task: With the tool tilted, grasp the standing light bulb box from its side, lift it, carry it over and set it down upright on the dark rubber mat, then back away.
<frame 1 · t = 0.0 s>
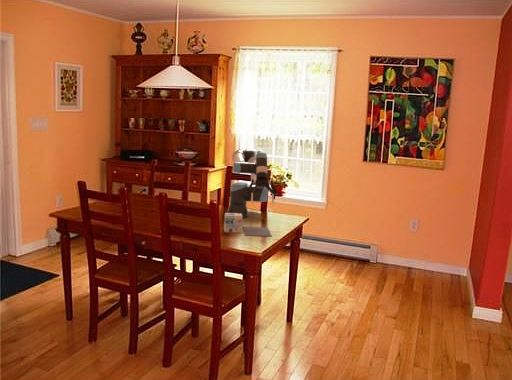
hand: (262, 203, 307), 15 cm above the table, tool tilted 35°, fingers open, 13 cm apart
mat: (256, 231, 296), on the table
light bulb box: (232, 231, 294), on the table
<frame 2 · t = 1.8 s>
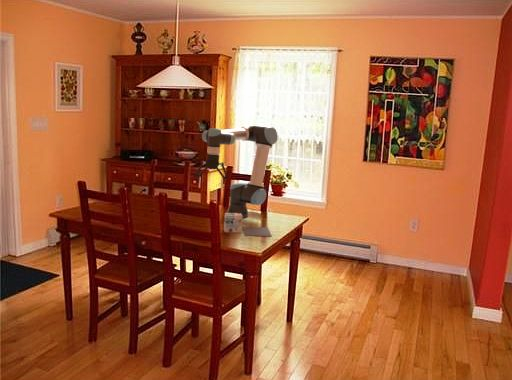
hand: (210, 188, 292), 25 cm above the table, tool pointing down, fingers open, 13 cm apart
nothing on the table moved.
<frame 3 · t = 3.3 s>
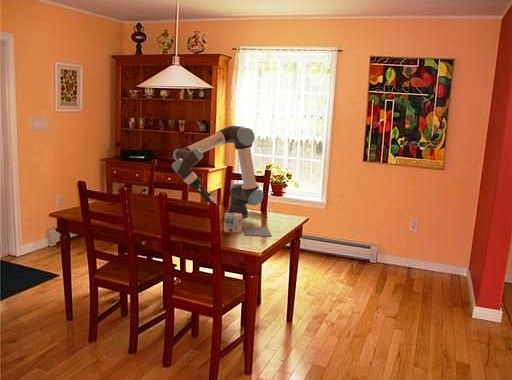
hand: (216, 206, 290), 15 cm above the table, tool tilted 45°, fingers open, 13 cm apart
nothing on the table moved.
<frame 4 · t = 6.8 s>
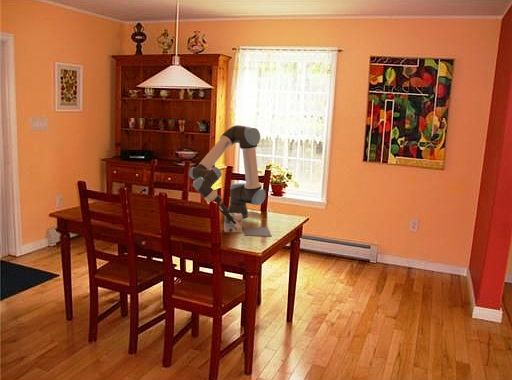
hand: (238, 225, 294), 4 cm above the table, tool tilted 45°, fingers closed on light bulb box, 7 cm apart
light bulb box: (232, 231, 294), on the table, touching gripper
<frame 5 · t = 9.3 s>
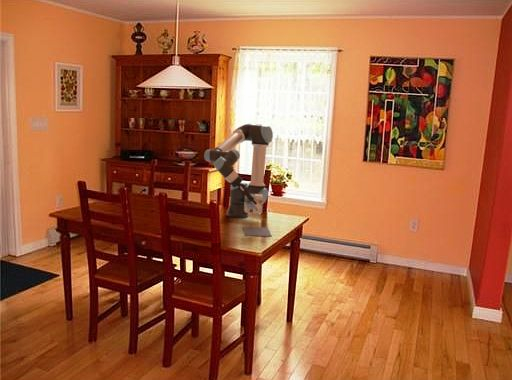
hand: (259, 206, 292), 16 cm above the table, tool tilted 45°, fingers closed on light bulb box, 7 cm apart
light bulb box: (252, 212, 293), point 12 cm above the table, touching gripper
when the fingers open (5 cm above the table, at t = 12.1 s): light bulb box drops 1 cm, resting on mat.
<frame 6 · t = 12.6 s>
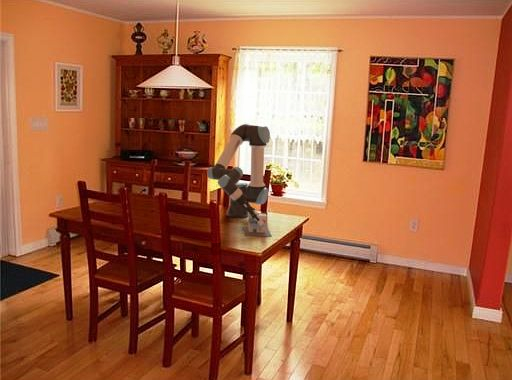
hand: (261, 221, 295), 7 cm above the table, tool tilted 45°, fingers open, 13 cm apart
light bulb box: (256, 231, 295), resting on mat
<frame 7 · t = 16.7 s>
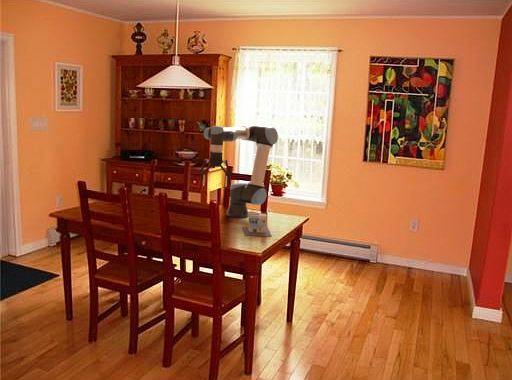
hand: (214, 186, 293), 27 cm above the table, tool pointing down, fingers open, 13 cm apart
nothing on the table moved.
at the end: light bulb box inside the target area (0.3 cm from its centre), resting on mat; light bulb box tilted 0°; the gripper is holding nothing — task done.
